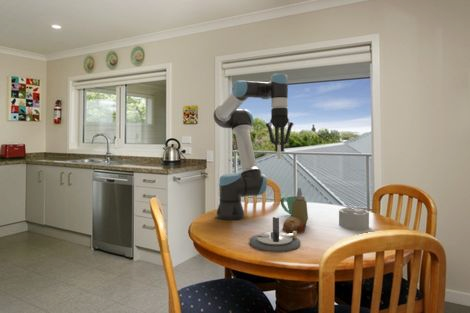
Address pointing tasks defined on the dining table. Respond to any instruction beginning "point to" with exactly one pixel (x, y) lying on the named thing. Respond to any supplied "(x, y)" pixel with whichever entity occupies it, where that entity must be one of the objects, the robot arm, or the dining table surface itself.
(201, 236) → the dining table surface
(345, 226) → the lumpy-topped squat cylinder
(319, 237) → the dining table surface
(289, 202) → the mug
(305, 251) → the dining table surface
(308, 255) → the dining table surface
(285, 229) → the bread roll
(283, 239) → the flange plate
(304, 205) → the squeeze bottle
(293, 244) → the base pad
